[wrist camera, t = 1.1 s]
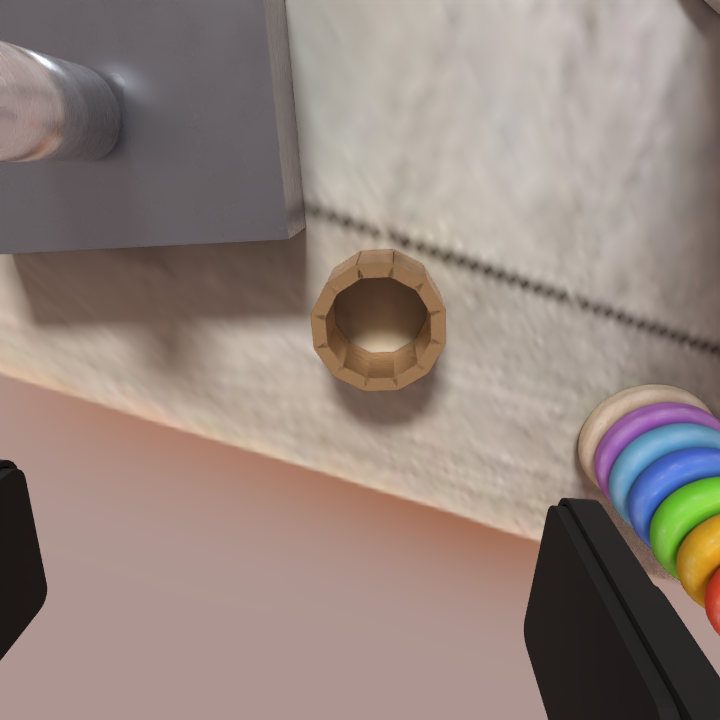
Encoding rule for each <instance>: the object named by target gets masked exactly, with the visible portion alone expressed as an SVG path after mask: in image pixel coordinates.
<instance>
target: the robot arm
mask: <svg viewBox="0 0 720 720" xmlns="http://www.w3.org/2000/svg"><path fill="white" fill-rule="evenodd" d="M704 1H705V2H706V3H707V4H708V5H710V6H711V7H712V8H713V9H714V10H715V11H716V12H717V13H718V14H719V15H720V0H704ZM46 595H47V583H46V578H45V573H44V568H43V564H42V558H41V554H40V548H39V543H38V538H37V533H36V528H35V523H34V518H33V513H32V508H31V504H30V498H29V493H28V488H27V483H26V478H25V475H24V473H23V472H22V471H21V470H19V469H17V466H16V465H15V464H14V463H13V462H11V461H9V460H0V660H1V659H2V658H3V657H4V655H5V654H6V653H7V651H8V650H9V649H10V648H11V646H12V645H13V644H14V642H15V641H16V640H17V639H18V637H19V636H20V635H21V634H22V632H23V631H24V630H25V628H26V627H27V626H28V625H29V623H30V622H31V621H32V619H33V618H34V617H35V616H36V614H37V613H38V612H39V610H40V609H41V608H42V606H43V604H44V602H45V599H46ZM524 637H525V643H526V647H527V651H528V654H529V657H530V661H531V664H532V667H533V670H534V674H535V677H536V680H537V684H538V687H539V690H540V694H541V697H542V700H543V703H544V707H545V710H546V713H547V717H548V720H720V677H719V675H718V674H717V673H716V671H715V670H714V668H713V666H712V665H711V663H710V662H709V660H708V659H707V657H706V656H705V655H704V653H703V651H702V650H701V649H700V647H699V646H698V644H697V643H696V641H695V639H694V638H693V637H692V635H691V634H690V632H689V631H688V629H687V627H686V626H685V624H684V623H683V622H682V620H681V618H680V617H679V616H678V614H677V612H676V611H675V609H674V608H673V607H672V605H671V603H670V602H669V600H668V599H667V597H666V596H665V595H664V594H663V593H662V591H661V590H660V589H659V588H658V587H657V586H655V585H654V584H653V583H652V581H651V580H650V578H649V577H648V575H647V574H646V572H645V570H644V569H643V567H642V566H641V564H640V563H639V561H638V560H637V558H636V557H635V555H634V554H633V552H632V551H631V549H630V548H629V546H628V545H627V543H626V542H625V540H624V539H623V537H622V536H621V534H620V532H619V531H618V529H617V528H616V526H615V525H614V523H613V522H612V520H611V519H610V517H609V516H608V514H607V513H606V511H605V510H604V508H603V507H602V505H601V504H600V503H599V502H598V501H596V500H589V499H574V498H562V499H561V500H560V502H559V504H558V506H553V505H552V506H550V507H549V509H548V512H547V517H546V521H545V526H544V531H543V536H542V540H541V545H540V550H539V554H538V560H537V564H536V569H535V574H534V578H533V583H532V588H531V592H530V598H529V602H528V607H527V611H526V616H525V622H524Z"/></svg>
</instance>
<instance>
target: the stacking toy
mask: <svg viewBox="0 0 720 720" xmlns="http://www.w3.org/2000/svg"><path fill="white" fill-rule="evenodd" d="M578 453H579V459H580V463H581V465H582V468H583V470H584V472H585V473H586V475H587V476H588V478H589V479H590V480H591V481H592V482H593V483H594V484H595V485H596V486H597V487H598V488H600V489H601V490H602V492H603V494H604V495H605V496H606V498H607V499H608V500H609V501H610V502H611V503H612V504H613V506H614V508H615V510H616V511H617V513H618V514H619V516H620V517H621V518H622V519H623V520H624V521H625V522H626V523H627V524H628V525H630V526H631V527H632V528H634V530H635V532H636V534H637V535H638V536H639V538H640V539H641V540H642V541H643V542H644V543H645V544H646V545H647V546H648V547H650V548H651V549H652V551H653V553H654V555H655V557H656V558H657V560H658V562H659V563H660V564H661V566H662V567H663V568H664V569H665V570H666V571H667V572H668V573H670V574H671V575H672V576H674V577H675V578H677V579H678V580H680V582H681V585H682V586H683V588H684V590H685V591H686V592H687V594H688V595H689V596H690V597H691V598H692V599H693V600H694V601H695V602H696V603H698V604H699V605H700V606H702V607H703V608H705V610H706V614H707V617H708V619H709V621H710V622H711V625H712V626H713V628H714V630H715V631H716V632H717V633H718V634H719V635H720V421H719V420H718V419H717V418H716V417H715V416H713V415H712V413H711V412H710V410H709V409H708V408H707V406H706V405H705V404H704V403H703V402H702V401H701V400H700V399H699V398H697V397H696V396H694V395H693V394H691V393H689V392H687V391H686V390H683V389H680V388H678V387H674V386H669V385H660V384H649V385H641V386H635V387H632V388H629V389H626V390H623V391H621V392H618V393H616V394H614V395H613V396H611V397H609V398H608V399H606V400H605V401H604V402H602V403H601V404H600V405H599V406H598V407H597V408H596V409H595V410H594V411H593V412H592V413H591V415H590V416H589V417H588V419H587V420H586V422H585V424H584V426H583V428H582V430H581V433H580V436H579V442H578Z"/></svg>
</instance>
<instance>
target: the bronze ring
mask: <svg viewBox="0 0 720 720" xmlns="http://www.w3.org/2000/svg"><path fill="white" fill-rule="evenodd" d="M381 277H391V278H393V279H395V280H397V281H399V282H401V283H403V284H405V285H407V286H409V287H411V288H413V289H415V290H416V291H417V293H418V294H419V296H420V297H421V299H422V300H423V302H424V304H425V305H426V307H427V320H426V322H425V323H424V325H423V327H422V329H421V330H420V332H419V334H418V335H417V337H416V339H415V340H414V341H412V342H411V343H409V344H407V345H405V346H404V347H402V348H400V349H399V350H397V351H395V352H382V353H370V352H367V351H365V350H363V349H361V348H359V347H357V346H355V345H353V344H351V343H349V342H348V340H347V339H346V337H345V336H344V335H343V333H342V332H341V330H340V329H339V327H338V326H337V324H336V323H335V312H334V299H335V297H336V295H337V294H338V293H339V292H341V291H342V290H344V289H345V288H347V287H349V286H350V285H352V284H353V283H355V282H356V281H358V280H359V279H361V278H381ZM311 325H312V335H313V346H314V348H315V349H314V350H315V351H316V353H317V354H318V355H319V357H320V358H321V360H322V361H323V362H324V364H325V365H326V366H327V368H328V369H329V371H330V372H331V373H332V375H334V377H336V378H338V379H340V380H342V381H344V382H347V383H349V384H351V385H353V386H355V387H357V388H359V389H361V390H363V391H364V389H365V391H384V390H398V389H401V388H403V387H405V386H407V385H408V384H410V383H412V382H414V381H415V380H417V379H419V378H421V377H422V376H424V375H426V374H427V372H428V373H429V371H430V369H431V368H432V366H433V364H434V363H435V361H436V359H437V358H438V356H439V354H440V353H441V351H442V350H443V348H444V346H445V344H446V310H445V307H444V304H443V301H442V298H441V295H440V292H439V290H438V288H437V287H436V285H435V283H434V282H433V280H432V278H431V277H430V275H429V274H428V272H427V270H426V269H425V267H424V265H422V264H421V263H419V262H418V261H416V260H414V259H412V258H410V257H408V256H406V255H404V254H402V253H400V252H398V251H396V250H395V249H394V251H393V249H388V250H367V251H362V252H361V251H360V252H359V253H357V254H356V255H354V256H352V257H351V258H349V259H348V260H346V261H345V262H343V263H342V264H340V265H339V266H337V267H336V268H335V269H334V270H333V272H332V273H331V275H330V277H329V279H328V281H327V282H326V284H325V286H324V288H323V290H322V292H321V294H320V297H319V299H318V301H317V303H316V305H315V307H314V309H313V311H312V313H311Z"/></svg>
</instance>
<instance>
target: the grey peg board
mask: <svg viewBox="0 0 720 720" xmlns="http://www.w3.org/2000/svg"><path fill="white" fill-rule="evenodd" d="M305 227H306V223H305V212H304V202H303V191H302V181H301V170H300V159H299V149H298V138H297V127H296V117H295V106H294V96H293V85H292V74H291V64H290V53H289V42H288V32H287V21H286V11H285V0H0V254H16V253H35V252H55V251H74V250H93V249H112V248H132V247H151V246H170V245H189V244H208V243H228V242H247V241H266V240H285V239H290V238H291V237H293V236H294V235H296V234H297V233H298V232H300V231H301V230H302V229H304V228H305Z"/></svg>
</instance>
